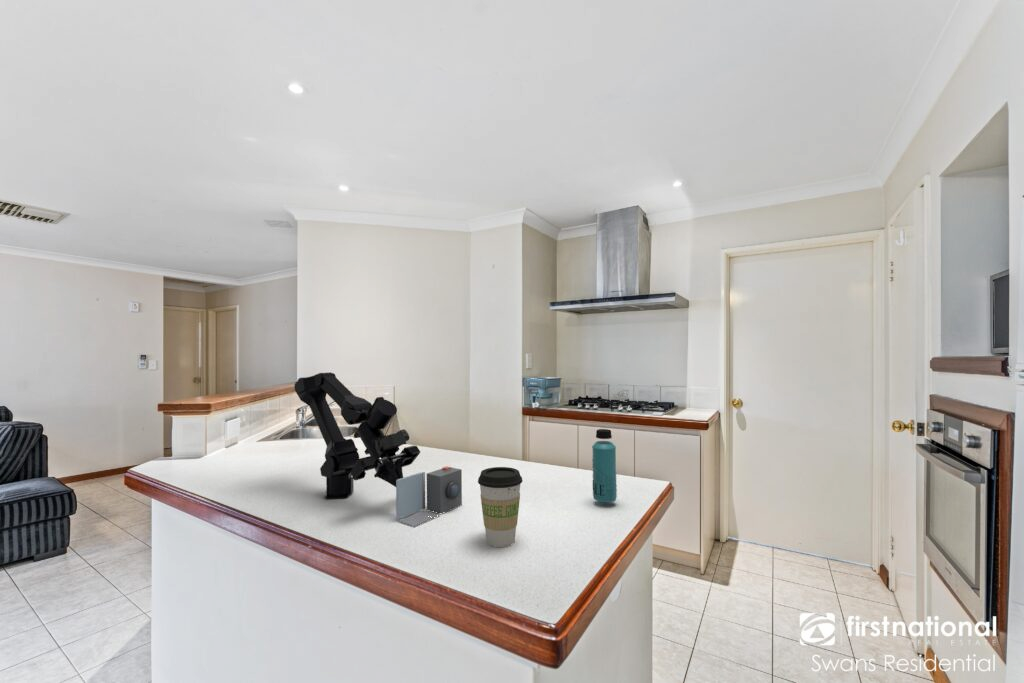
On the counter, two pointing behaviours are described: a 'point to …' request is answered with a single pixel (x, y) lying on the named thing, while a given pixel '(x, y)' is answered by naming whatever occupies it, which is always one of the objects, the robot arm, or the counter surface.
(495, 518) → the coffee cup
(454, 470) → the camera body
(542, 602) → the counter surface
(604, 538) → the counter surface
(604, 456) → the beverage bottle
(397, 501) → the side door
